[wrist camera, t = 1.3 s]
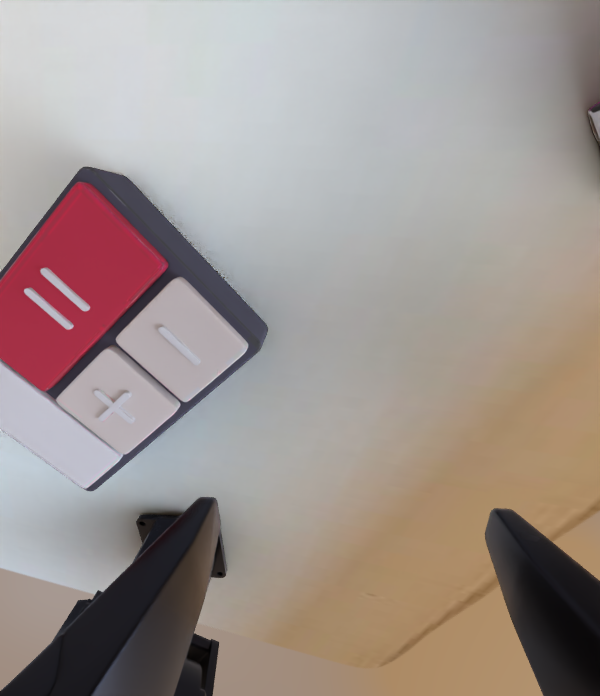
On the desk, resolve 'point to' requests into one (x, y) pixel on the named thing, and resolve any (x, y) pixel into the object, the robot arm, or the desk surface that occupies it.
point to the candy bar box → (595, 120)
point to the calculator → (111, 329)
